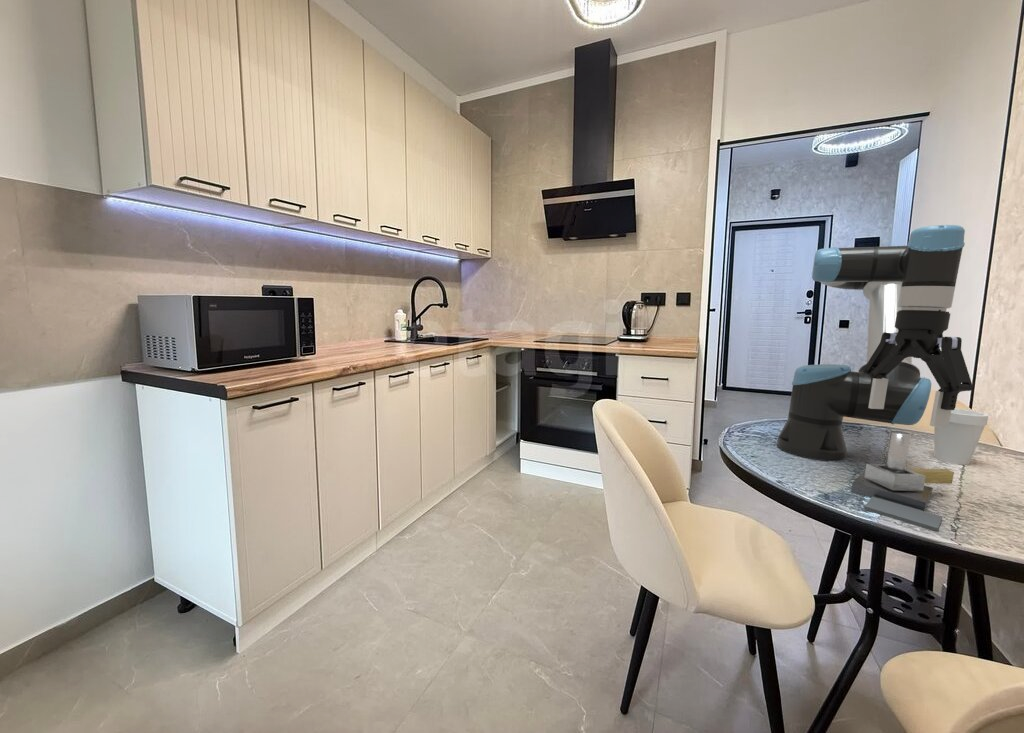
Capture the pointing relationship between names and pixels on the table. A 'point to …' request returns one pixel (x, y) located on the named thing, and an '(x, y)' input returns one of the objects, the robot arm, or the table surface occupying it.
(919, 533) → the table surface
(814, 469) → the table surface
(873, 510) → the pad
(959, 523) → the table surface
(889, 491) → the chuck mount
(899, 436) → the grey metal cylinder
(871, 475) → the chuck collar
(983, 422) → the grey rounded piece
